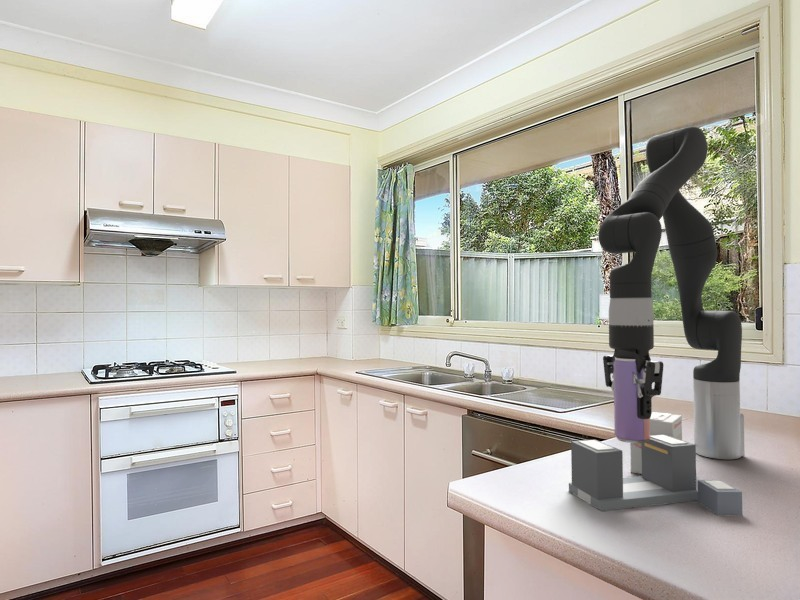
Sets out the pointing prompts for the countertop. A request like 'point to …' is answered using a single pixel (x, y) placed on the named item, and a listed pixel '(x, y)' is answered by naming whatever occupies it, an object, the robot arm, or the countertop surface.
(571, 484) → the grey u-shaped block
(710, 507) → the block
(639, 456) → the ink box
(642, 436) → the beverage can
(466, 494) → the countertop surface
